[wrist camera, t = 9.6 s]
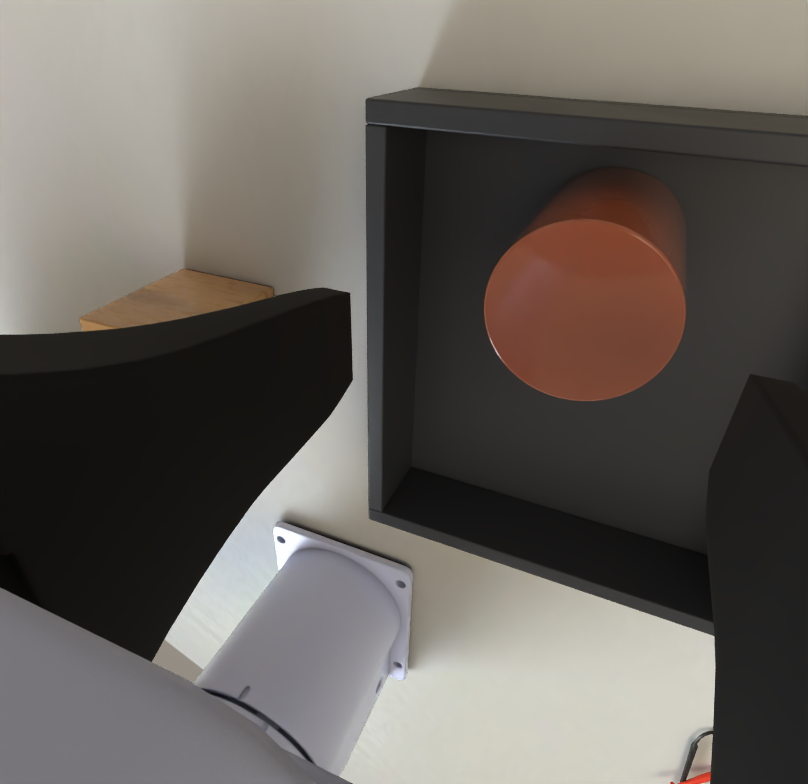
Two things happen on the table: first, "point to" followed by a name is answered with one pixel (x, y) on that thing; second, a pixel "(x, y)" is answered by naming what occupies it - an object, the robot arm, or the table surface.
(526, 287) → the canister
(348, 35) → the table surface
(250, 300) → the block
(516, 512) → the tray
